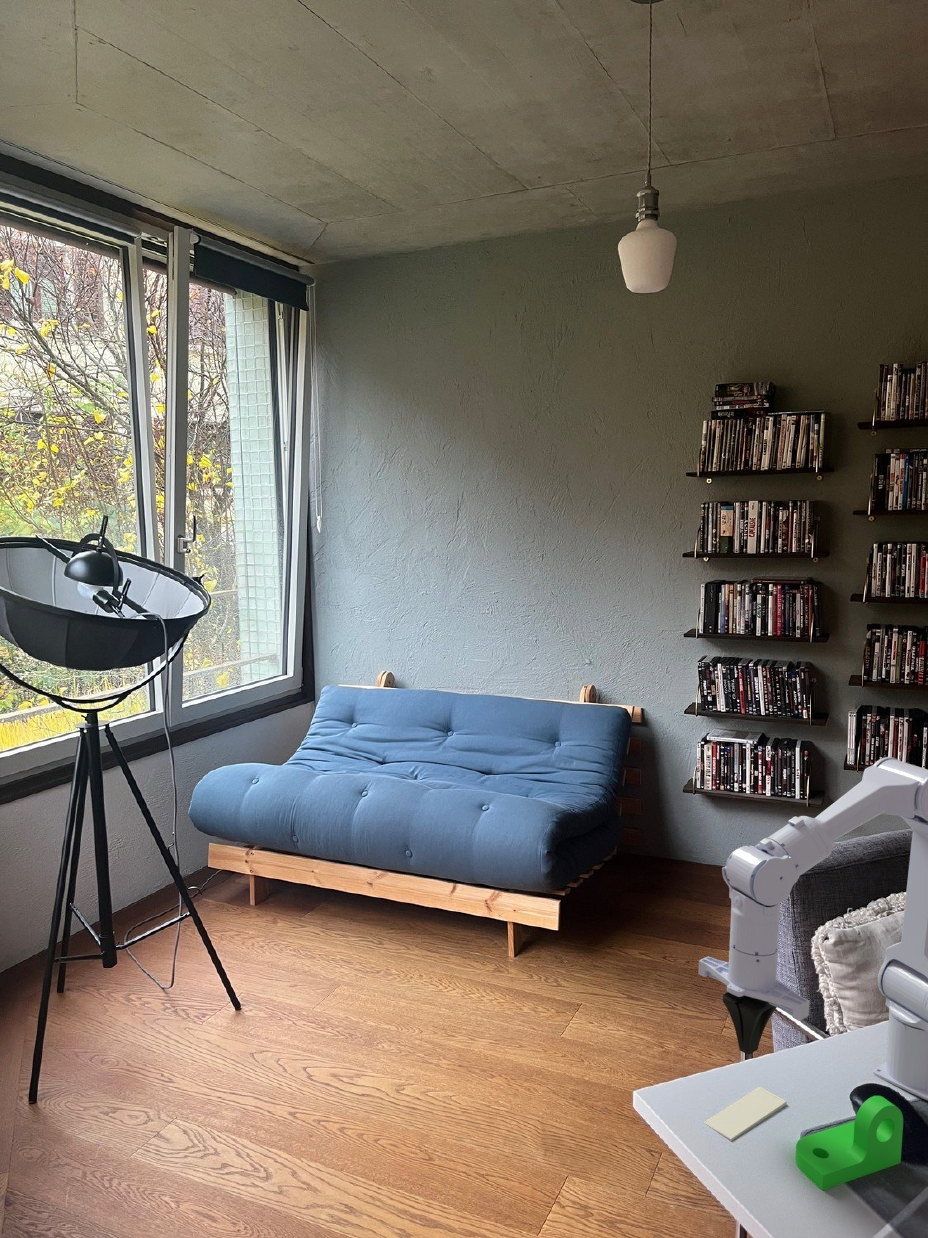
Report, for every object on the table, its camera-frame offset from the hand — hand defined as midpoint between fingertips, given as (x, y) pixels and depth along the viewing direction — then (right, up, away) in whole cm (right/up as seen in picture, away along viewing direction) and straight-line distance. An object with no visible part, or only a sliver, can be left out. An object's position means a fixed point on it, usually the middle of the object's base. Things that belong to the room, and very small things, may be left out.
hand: (748, 1050), depth 117 cm
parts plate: (0, -9, +1) cm, 9 cm away
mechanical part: (+9, -10, -7) cm, 15 cm away
